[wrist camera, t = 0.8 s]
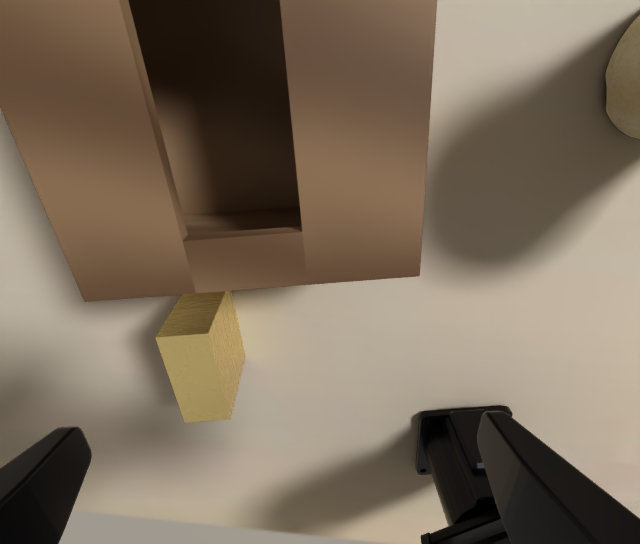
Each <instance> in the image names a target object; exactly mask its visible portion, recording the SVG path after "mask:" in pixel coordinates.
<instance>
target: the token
mask: <svg viewBox="0 0 640 544" xmlns="http://www.w3.org/2000/svg"><path fill="white" fill-rule="evenodd" d="M155 339H156V341H157V344H158V347H159V350H160V353H161V356H162V359H163V362H164V365H165V367H166V370H167V373H168V376H169V379H170V382H171V385H172V388H173V390H174V393H175V396H176V399H177V402H178V405H179V408H180V411H181V414H182V416H183V419H184V422H185V423H187V422H200V421H213V420H226V419H231V415H232V411H233V407H234V402H235V398H236V394H237V389H238V385H239V381H240V377H241V372H242V368H243V364H244V360H245V353H244V348H243V343H242V338H241V334H240V329H239V324H238V319H237V315H236V310H235V305H234V300H233V296H232V291H219V292H206V293H193V294H182V295H181V297H180V298H179V300H178V302H177V303H176V305H175V306H174V308H173V310H172V311H171V313H170V314H169V316H168V318H167V319H166V321H165V323H164V324H163V326H162V327H161V329H160V331H159V332H158V334H157V335H156V337H155Z"/></svg>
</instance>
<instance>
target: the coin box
mask: <svg viewBox="0 0 640 544" xmlns="http://www.w3.org/2000/svg"><path fill="white" fill-rule="evenodd" d="M436 9H437V0H0V107H1V109H2V112H3V114H4V116H5V119H6V121H7V123H8V126H9V128H10V130H11V132H12V135H13V137H14V139H15V142H16V144H17V146H18V149H19V151H20V153H21V156H22V158H23V160H24V162H25V165H26V167H27V169H28V172H29V174H30V176H31V179H32V181H33V183H34V186H35V188H36V190H37V193H38V195H39V197H40V199H41V202H42V204H43V206H44V209H45V211H46V213H47V216H48V218H49V220H50V223H51V225H52V227H53V230H54V232H55V234H56V236H57V239H58V241H59V243H60V246H61V248H62V250H63V253H64V255H65V257H66V260H67V262H68V264H69V267H70V269H71V271H72V273H73V276H74V278H75V280H76V283H77V285H78V287H79V290H80V292H81V294H82V297H83V299H84V301H85V302H88V301H101V300H114V299H127V298H140V297H154V296H167V295H180V294H193V293H206V292H219V291H232V290H245V289H258V288H271V287H284V286H297V285H310V284H323V283H336V282H350V281H363V280H376V279H389V278H402V277H415V276H420V262H421V246H422V231H423V215H424V199H425V183H426V167H427V151H428V136H429V120H430V104H431V88H432V72H433V57H434V41H435V25H436Z"/></svg>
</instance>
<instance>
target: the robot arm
mask: <svg viewBox="0 0 640 544" xmlns="http://www.w3.org/2000/svg"><path fill="white" fill-rule="evenodd" d="M91 455H92V454H91V449H90V447H89V444H88V442H87V440H86V438H85V436H84V434H83V431H82V430H81V429H80V428H79V427H60V428H57V429H56V430H54V431H52V432H51V433H50V434H48V435H47V436H45V437H44V438H43V439H41V440H40V441H38V442H37V443H36V444H34V445H33V446H31V447H30V448H29V449H27V450H26V451H24V452H23V453H21V454H20V455H19V456H17V457H16V458H14V459H13V460H12V461H10V462H9V463H7V464H6V465H5V466H3V467H2V468H0V544H58V543H59V541H60V539H61V536H62V534H63V531H64V529H65V527H66V525H67V522H68V519H69V517H70V514H71V512H72V509H73V506H74V504H75V501H76V498H77V496H78V493H79V491H80V488H81V485H82V483H83V480H84V478H85V475H86V472H87V470H88V467H89V465H90V462H91ZM416 470H417V473H418V474H420V475H426V474H432V477H433V480H434V483H435V486H436V489H437V492H438V495H439V498H440V501H441V504H442V507H443V511H444V514H445V517H446V520H447V523H448V527H446V528H443V529H441V530H438V531H436V532H433V533H431V534H430V533H426V534H424V535H421V543H422V544H640V518H638V517H637V516H636V515H635V514H633V513H632V512H631V511H630V510H628V509H627V508H626V507H624V506H623V505H622V504H621V503H619V502H618V501H617V500H616V499H614V498H613V497H612V496H611V495H609V494H608V493H607V492H605V491H604V490H603V489H602V488H600V487H599V486H598V485H597V484H595V483H594V482H593V481H592V480H590V479H589V478H588V477H586V476H585V475H584V474H583V473H581V472H580V471H579V470H578V469H576V468H575V467H574V466H573V465H571V464H570V463H569V462H567V461H566V460H565V459H564V458H562V457H561V456H560V455H559V454H557V453H556V452H555V451H554V450H552V449H551V448H550V447H548V446H547V445H546V444H545V443H543V442H542V441H541V440H540V439H538V438H537V437H536V436H535V435H533V434H532V433H531V432H529V431H528V430H527V429H526V428H524V427H523V426H522V425H521V424H519V423H518V422H517V421H516V420H514V419H513V418H512V412H511V410H510V409H509V407H507V406H496V407H483V408H470V409H456V410H443V411H429V412H424V413H422V414H421V415H420V417H419V428H418V441H417V454H416Z"/></svg>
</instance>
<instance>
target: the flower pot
mask: <svg viewBox="0 0 640 544" xmlns="http://www.w3.org/2000/svg"><path fill="white" fill-rule="evenodd" d="M605 78H606V85H607V104H606V112H607V114H608V116H609V118H610V120H611V121H612V122H613V124H614V125H615V126H616V127H617V128H618V129H619V130H620V131H621V132H623V133H624V134H626V135H628V136H630V137H633V138H637V139H640V15H639V16H638V17H637V18H636V19H635V20H634V21H633V23H632V24H631V25H630V26H629V28H628V29H627V30H626V32H625V33H624V35H623V36H622V38H621V39H620V41H619V43H618V44H617V46H616V48H615V50H614V52H613V54H612V56H611V59H610V61H609V64H608V67H607V70H606V74H605Z"/></svg>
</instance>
